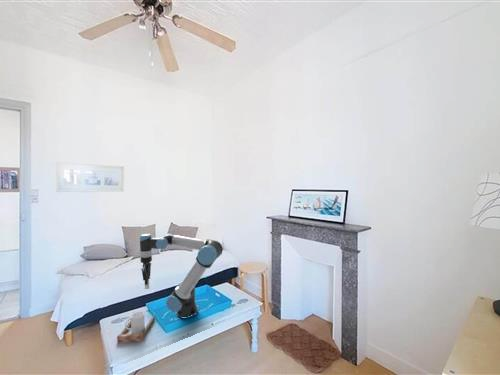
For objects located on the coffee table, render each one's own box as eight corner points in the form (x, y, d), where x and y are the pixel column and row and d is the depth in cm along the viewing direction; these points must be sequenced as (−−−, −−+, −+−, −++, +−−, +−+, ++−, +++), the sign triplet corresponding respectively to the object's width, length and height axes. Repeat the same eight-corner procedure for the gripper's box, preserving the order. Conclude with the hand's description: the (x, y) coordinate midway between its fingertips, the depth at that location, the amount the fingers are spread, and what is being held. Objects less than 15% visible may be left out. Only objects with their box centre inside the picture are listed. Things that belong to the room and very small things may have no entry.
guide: (154, 320, 182) (154, 314, 182) (142, 341, 158) (141, 335, 158) (133, 321, 181) (133, 315, 181) (117, 342, 157) (117, 336, 157)
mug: (125, 338, 161) (124, 320, 161) (126, 331, 169) (125, 313, 168) (145, 334, 166) (144, 316, 165) (145, 327, 173) (144, 309, 173)
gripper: (144, 253, 188) (145, 284, 189) (137, 259, 175) (138, 292, 176) (154, 253, 188) (155, 284, 189) (148, 258, 175) (149, 292, 176)
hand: (147, 288), depth 183 cm, fingers closed
